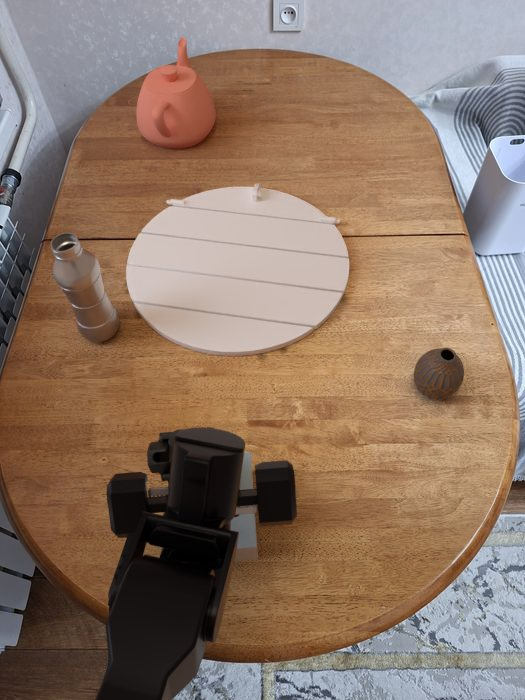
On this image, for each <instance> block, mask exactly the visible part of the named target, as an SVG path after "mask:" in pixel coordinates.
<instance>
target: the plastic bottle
mask: <svg viewBox="0 0 525 700" xmlns="http://www.w3.org/2000/svg"><path fill="white" fill-rule="evenodd" d="M50 249H51V251H52V254H53V255H52V256H53V257H54V258H55V259H54V262H53V265H52V275H53V279H54V281H55V282H56V284H57V285H58V287H59V288H60V289H61V290H62V292H63V293H64V294H65V296H66V298H67V299H68V302H69V303H70V305H71V307H72V311H73V313H74V316H75V323H76V327H77V330H78V332H79V333H80V334H81V335H82V336H83V338H85V339H86V341H87V340H88V341H89V342H93V343H102V342H106V341H107V340H109V339H111V338H113V336H114V335H115V334H116V333H117V331H118V329H119V327H120V316H119V312H118V310H117V309H116V307H115V306H114V304H113V303H112V302H111V300H110V298H109V296H108V294H107V291H106V289H105V285H104V282H103V278H102V272H101V271H102V270H101V266H100V262H99V260H98V258H97V257H96V255H94V253H92V252H91V251H90V250H88V249H85V248H83V246H82V243H81V242H80V241H79V238H78V236H77V235H76V234H75V233H73V232H62V233H59V234H57V235H55V237H53V238H52V239H51V241H50Z"/></svg>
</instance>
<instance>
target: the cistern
mask: <svg viewBox="0 0 525 700" xmlns="http://www.w3.org/2000/svg"><path fill="white" fill-rule="evenodd" d="M254 486H255V485H254V472H253V462H252V452H251V451H244V457H243V464H242V471H241V478H240V490H244V489H255V488H254ZM250 506H251V505H250ZM231 530H233V531H237V532H239V537H238V543H237V550H236V557H235V561H234V563H235V562H236V563H237V562H247V561H258V560H259V550H258V549H259V548H258V547H259V546H258V533H257V519H256V513H251V514H240V515H239V516H238V517H234V518H233V519H232V520H231Z"/></svg>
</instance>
